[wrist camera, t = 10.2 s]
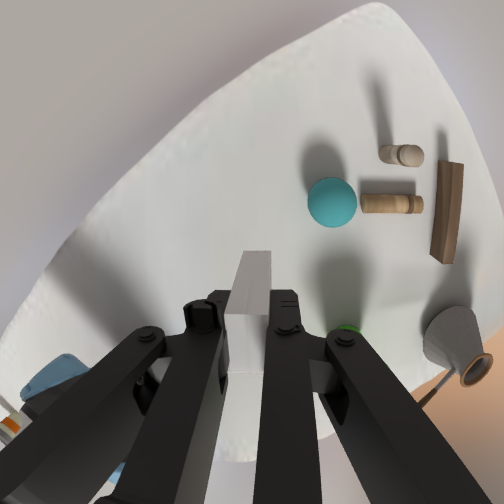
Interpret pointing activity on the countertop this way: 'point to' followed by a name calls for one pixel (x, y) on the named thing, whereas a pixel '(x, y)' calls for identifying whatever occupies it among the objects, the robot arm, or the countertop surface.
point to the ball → (332, 202)
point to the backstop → (447, 211)
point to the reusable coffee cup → (9, 427)
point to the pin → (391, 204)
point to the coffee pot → (456, 348)
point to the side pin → (402, 155)
